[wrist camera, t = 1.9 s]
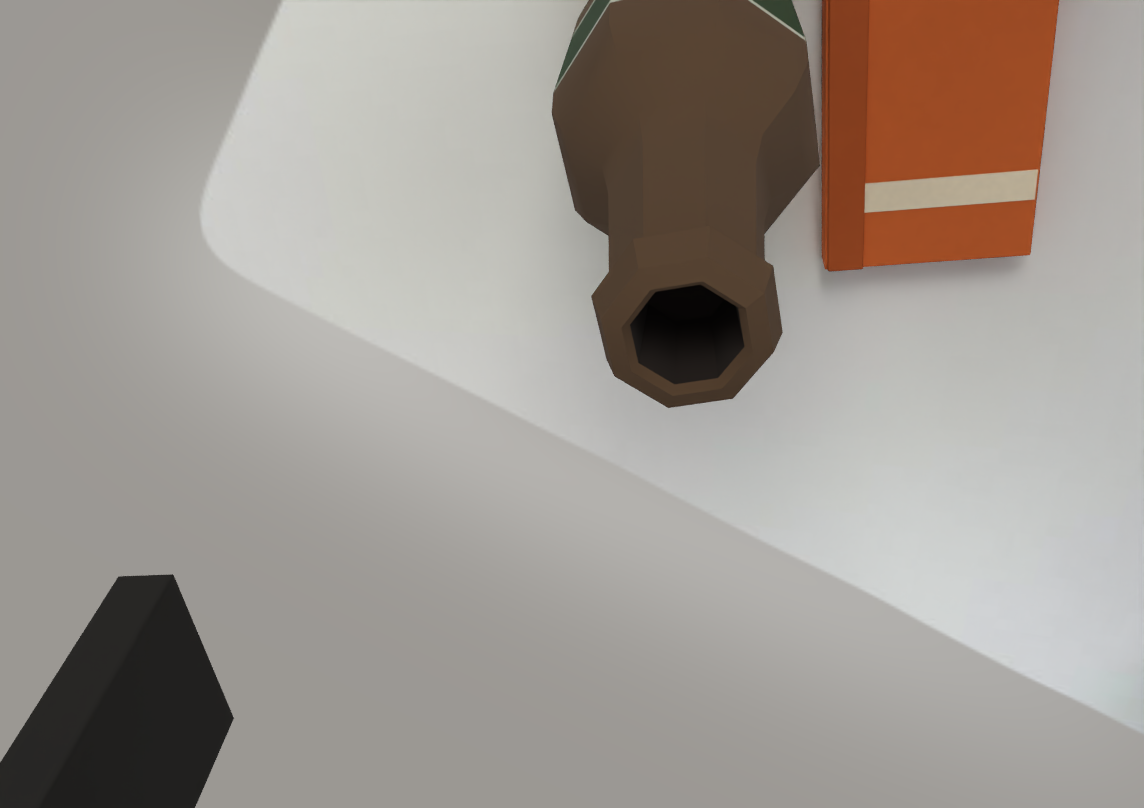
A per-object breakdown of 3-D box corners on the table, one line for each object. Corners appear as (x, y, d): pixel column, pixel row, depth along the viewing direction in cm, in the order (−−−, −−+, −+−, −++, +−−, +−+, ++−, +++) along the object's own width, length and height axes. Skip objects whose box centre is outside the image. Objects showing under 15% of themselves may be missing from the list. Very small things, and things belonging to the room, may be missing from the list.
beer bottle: (540, -5, 40) (399, 285, 20) (720, -138, 37) (764, 47, 17) (654, 162, 43) (630, 557, 23) (829, 52, 41) (971, 395, 20)
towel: (1022, 242, 44) (1031, 257, 43) (821, 257, 45) (825, 272, 44) (1087, -353, 33) (1102, -355, 32) (822, -315, 34) (827, -316, 33)
